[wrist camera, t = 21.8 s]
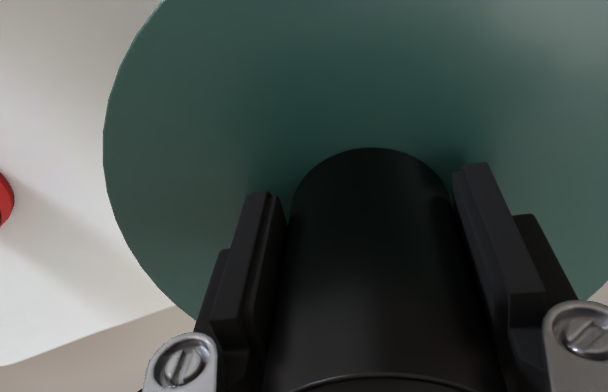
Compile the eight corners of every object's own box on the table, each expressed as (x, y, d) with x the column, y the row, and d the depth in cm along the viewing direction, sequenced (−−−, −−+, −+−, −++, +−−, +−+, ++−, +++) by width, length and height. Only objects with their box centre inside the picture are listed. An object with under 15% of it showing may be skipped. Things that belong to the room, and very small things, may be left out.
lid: (19, -21, 11) (-386, 128, 5) (711, -190, 8) (1641, -310, 2) (212, 359, 18) (147, 599, 12) (603, 330, 16) (756, 613, 10)
